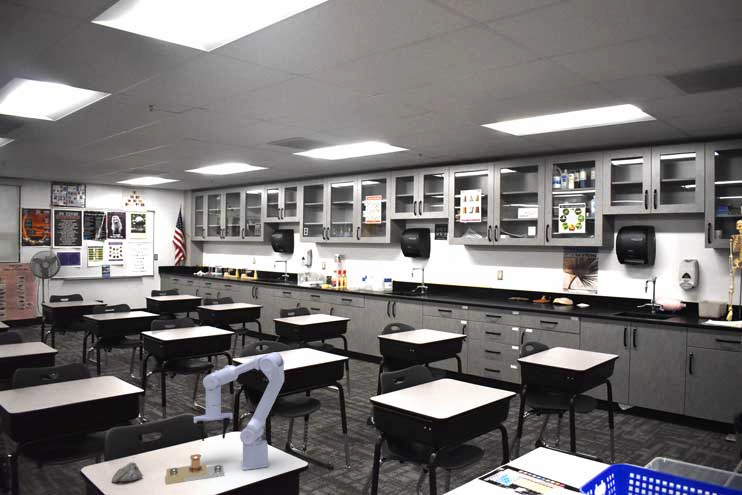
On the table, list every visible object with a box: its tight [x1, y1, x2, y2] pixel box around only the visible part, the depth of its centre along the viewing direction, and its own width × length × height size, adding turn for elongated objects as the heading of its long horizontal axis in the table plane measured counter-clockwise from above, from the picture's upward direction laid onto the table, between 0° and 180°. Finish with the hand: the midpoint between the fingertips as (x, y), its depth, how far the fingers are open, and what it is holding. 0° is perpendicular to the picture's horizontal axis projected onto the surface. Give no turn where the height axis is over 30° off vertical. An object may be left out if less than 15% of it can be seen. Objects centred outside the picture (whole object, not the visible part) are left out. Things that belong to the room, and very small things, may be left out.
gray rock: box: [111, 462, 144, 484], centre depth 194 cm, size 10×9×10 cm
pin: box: [189, 453, 202, 472], centre depth 196 cm, size 4×4×7 cm
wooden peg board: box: [165, 463, 225, 485], centre depth 195 cm, size 20×8×3 cm, turn 110°
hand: (213, 438), depth 207 cm, fingers open, 7 cm apart
